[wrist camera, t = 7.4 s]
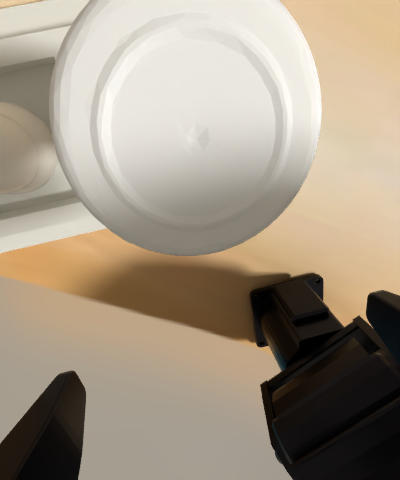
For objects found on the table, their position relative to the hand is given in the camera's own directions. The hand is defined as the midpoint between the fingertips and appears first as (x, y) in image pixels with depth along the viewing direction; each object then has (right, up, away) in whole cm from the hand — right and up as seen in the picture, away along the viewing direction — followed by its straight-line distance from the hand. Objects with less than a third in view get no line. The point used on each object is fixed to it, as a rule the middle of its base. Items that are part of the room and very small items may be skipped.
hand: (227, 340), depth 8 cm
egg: (-11, +8, +8) cm, 16 cm away
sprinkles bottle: (-3, +10, +8) cm, 14 cm away
